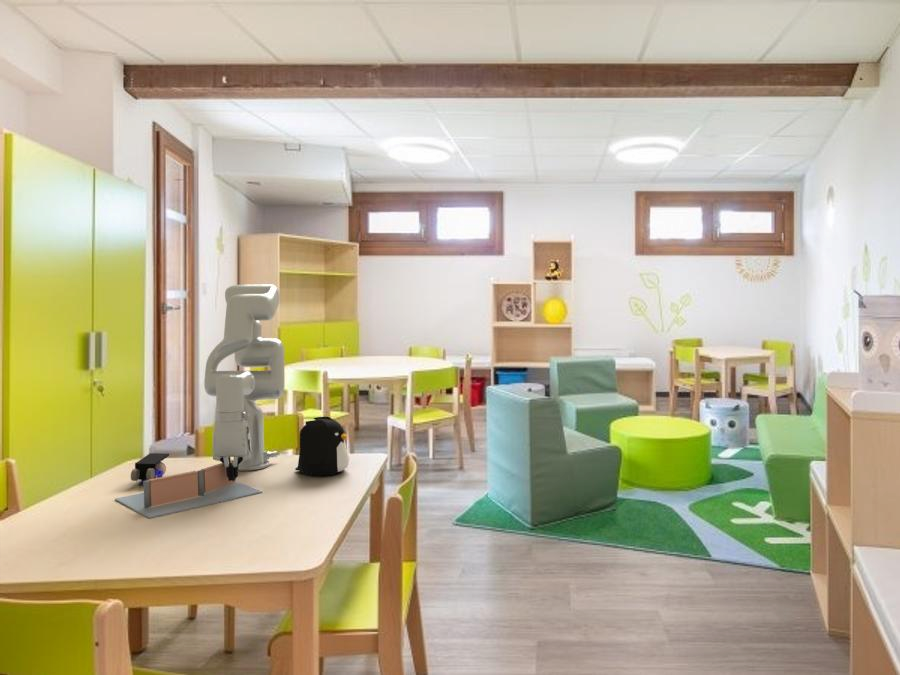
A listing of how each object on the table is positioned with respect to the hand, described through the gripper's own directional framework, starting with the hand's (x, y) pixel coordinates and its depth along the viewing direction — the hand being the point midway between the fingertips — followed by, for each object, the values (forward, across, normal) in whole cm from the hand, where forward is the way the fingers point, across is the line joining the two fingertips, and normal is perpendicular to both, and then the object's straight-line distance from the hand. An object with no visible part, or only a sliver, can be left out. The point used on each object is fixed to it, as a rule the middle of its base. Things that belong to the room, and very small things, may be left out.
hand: (232, 479), depth 206 cm
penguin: (+3, -23, -19) cm, 30 cm away
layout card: (+3, +11, +6) cm, 12 cm away
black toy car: (+3, +28, -12) cm, 31 cm away
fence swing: (+2, +4, 0) cm, 4 cm away
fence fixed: (+3, +13, +12) cm, 17 cm away
